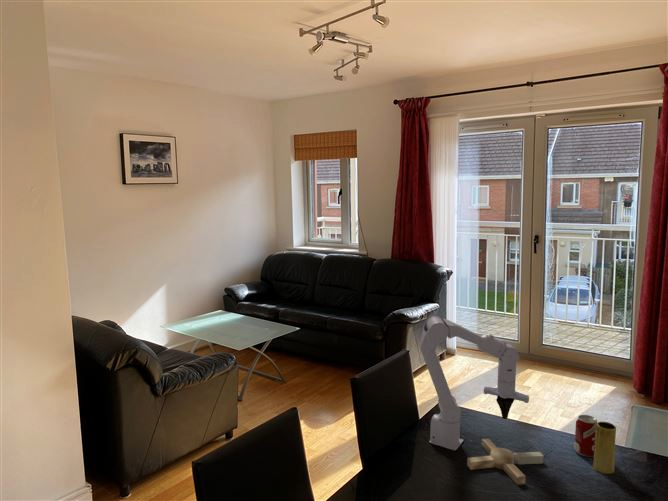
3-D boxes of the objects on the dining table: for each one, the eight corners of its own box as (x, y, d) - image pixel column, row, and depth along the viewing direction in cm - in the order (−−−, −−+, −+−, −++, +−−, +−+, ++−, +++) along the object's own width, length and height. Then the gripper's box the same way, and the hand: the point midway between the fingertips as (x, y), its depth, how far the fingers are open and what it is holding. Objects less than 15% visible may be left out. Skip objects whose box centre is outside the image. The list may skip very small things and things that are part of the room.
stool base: (486, 488, 145) (486, 477, 144) (454, 449, 166) (454, 439, 166) (532, 483, 147) (532, 472, 147) (494, 444, 169) (494, 435, 169)
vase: (617, 475, 151) (620, 431, 149) (595, 473, 152) (598, 429, 150) (610, 464, 157) (613, 421, 155) (589, 462, 158) (592, 419, 156)
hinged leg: (514, 464, 157) (515, 456, 157) (511, 460, 160) (511, 452, 159) (543, 463, 158) (543, 455, 157) (539, 459, 160) (539, 451, 160)
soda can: (574, 456, 162) (577, 421, 160) (573, 446, 168) (575, 412, 167) (598, 460, 159) (600, 425, 158) (595, 450, 166) (598, 415, 164)
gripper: (481, 379, 167) (480, 417, 169) (526, 388, 160) (524, 427, 161) (487, 372, 173) (486, 409, 175) (531, 380, 166) (529, 419, 167)
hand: (505, 417), depth 169 cm, fingers closed
